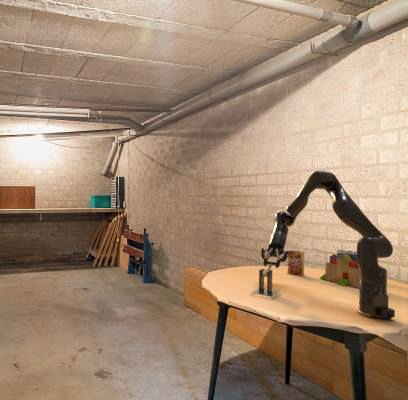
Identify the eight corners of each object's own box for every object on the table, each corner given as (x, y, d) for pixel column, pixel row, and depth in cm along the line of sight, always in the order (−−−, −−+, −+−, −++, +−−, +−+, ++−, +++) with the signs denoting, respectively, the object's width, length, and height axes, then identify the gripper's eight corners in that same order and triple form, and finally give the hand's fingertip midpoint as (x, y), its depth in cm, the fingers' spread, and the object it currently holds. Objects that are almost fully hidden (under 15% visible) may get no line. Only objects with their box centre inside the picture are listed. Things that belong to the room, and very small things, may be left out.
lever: (267, 263, 184) (267, 260, 183) (277, 265, 180) (277, 261, 180) (260, 276, 176) (259, 271, 175) (270, 277, 172) (269, 273, 171)
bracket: (259, 290, 183) (260, 266, 183) (280, 294, 176) (280, 269, 176) (250, 295, 173) (251, 270, 173) (271, 299, 166) (272, 273, 166)
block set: (315, 279, 210) (316, 247, 210) (331, 277, 215) (332, 246, 215) (363, 291, 184) (364, 255, 184) (381, 288, 189) (381, 253, 189)
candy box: (287, 273, 226) (287, 250, 226) (289, 272, 229) (289, 249, 229) (302, 275, 219) (302, 252, 219) (304, 274, 222) (304, 251, 222)
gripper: (262, 235, 191) (254, 260, 183) (290, 237, 181) (283, 264, 173) (266, 244, 195) (258, 268, 187) (293, 246, 185) (287, 272, 177)
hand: (270, 266), depth 180 cm, fingers closed on lever, 5 cm apart
